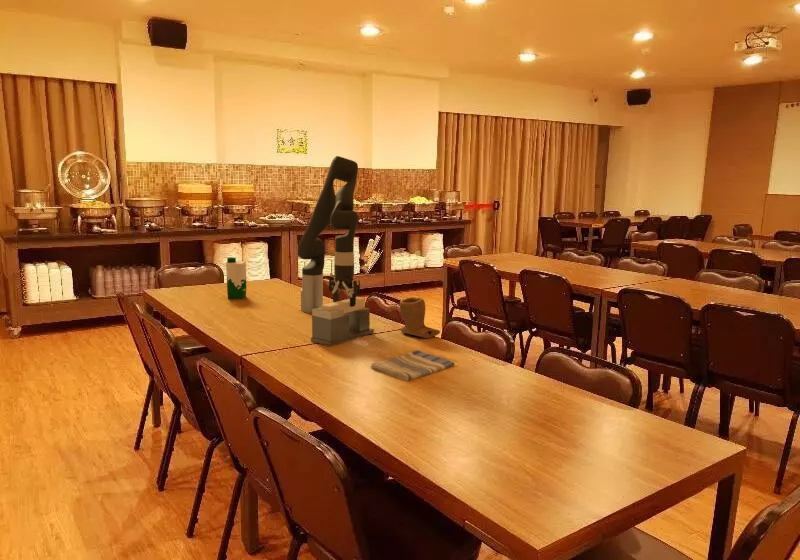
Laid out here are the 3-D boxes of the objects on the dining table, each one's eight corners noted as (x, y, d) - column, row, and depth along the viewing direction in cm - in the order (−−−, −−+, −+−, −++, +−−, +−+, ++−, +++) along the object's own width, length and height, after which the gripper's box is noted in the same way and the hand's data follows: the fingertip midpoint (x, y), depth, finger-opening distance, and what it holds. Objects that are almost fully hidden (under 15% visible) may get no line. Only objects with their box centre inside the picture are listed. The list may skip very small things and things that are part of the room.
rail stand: (310, 341, 229) (310, 309, 227) (354, 328, 249) (355, 298, 247) (330, 346, 224) (330, 313, 221) (373, 332, 243) (374, 302, 241)
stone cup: (392, 333, 242) (393, 296, 240) (414, 328, 250) (415, 293, 248) (419, 342, 231) (420, 303, 229) (440, 336, 239) (442, 299, 237)
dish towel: (368, 369, 200) (368, 361, 199) (418, 355, 216) (418, 348, 216) (406, 383, 188) (406, 375, 187) (455, 367, 204) (455, 359, 204)
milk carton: (230, 295, 307) (229, 256, 303) (248, 296, 307) (247, 257, 303) (225, 299, 298) (224, 259, 295) (243, 299, 298) (242, 259, 295)
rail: (321, 315, 228) (321, 305, 228) (357, 306, 244) (357, 296, 243) (329, 317, 226) (329, 306, 225) (364, 308, 242) (364, 298, 241)
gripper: (323, 262, 233) (324, 303, 236) (351, 266, 224) (351, 309, 227) (337, 260, 239) (337, 300, 242) (364, 264, 230) (364, 305, 233)
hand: (344, 304), depth 234 cm, fingers open, 8 cm apart
